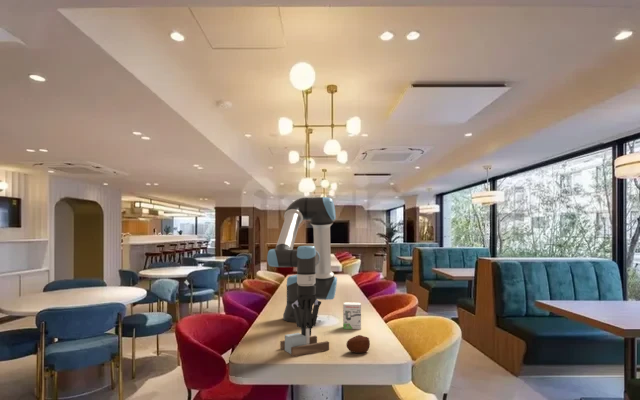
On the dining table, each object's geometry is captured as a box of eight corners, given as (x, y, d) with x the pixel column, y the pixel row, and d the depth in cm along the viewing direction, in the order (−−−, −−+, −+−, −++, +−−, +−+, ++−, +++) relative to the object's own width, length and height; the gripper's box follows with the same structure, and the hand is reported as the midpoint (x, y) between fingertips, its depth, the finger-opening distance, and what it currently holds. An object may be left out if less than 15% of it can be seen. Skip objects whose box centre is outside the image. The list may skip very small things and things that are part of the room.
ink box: (343, 329, 188) (343, 304, 189) (343, 326, 193) (343, 302, 194) (361, 329, 188) (361, 304, 189) (360, 326, 193) (360, 302, 194)
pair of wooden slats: (280, 348, 157) (280, 341, 158) (315, 342, 165) (315, 335, 166) (292, 356, 148) (292, 348, 148) (329, 349, 156) (329, 342, 156)
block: (284, 350, 155) (284, 334, 156) (298, 348, 158) (298, 332, 159) (291, 354, 150) (291, 338, 150) (305, 352, 153) (305, 336, 154)
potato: (372, 355, 150) (372, 337, 150) (347, 355, 149) (347, 338, 149) (368, 349, 157) (368, 333, 157) (344, 350, 156) (344, 333, 156)
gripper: (296, 287, 152) (296, 349, 150) (324, 284, 159) (325, 344, 157) (287, 284, 159) (287, 344, 157) (315, 282, 165) (315, 340, 164)
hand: (306, 344), depth 157 cm, fingers closed
